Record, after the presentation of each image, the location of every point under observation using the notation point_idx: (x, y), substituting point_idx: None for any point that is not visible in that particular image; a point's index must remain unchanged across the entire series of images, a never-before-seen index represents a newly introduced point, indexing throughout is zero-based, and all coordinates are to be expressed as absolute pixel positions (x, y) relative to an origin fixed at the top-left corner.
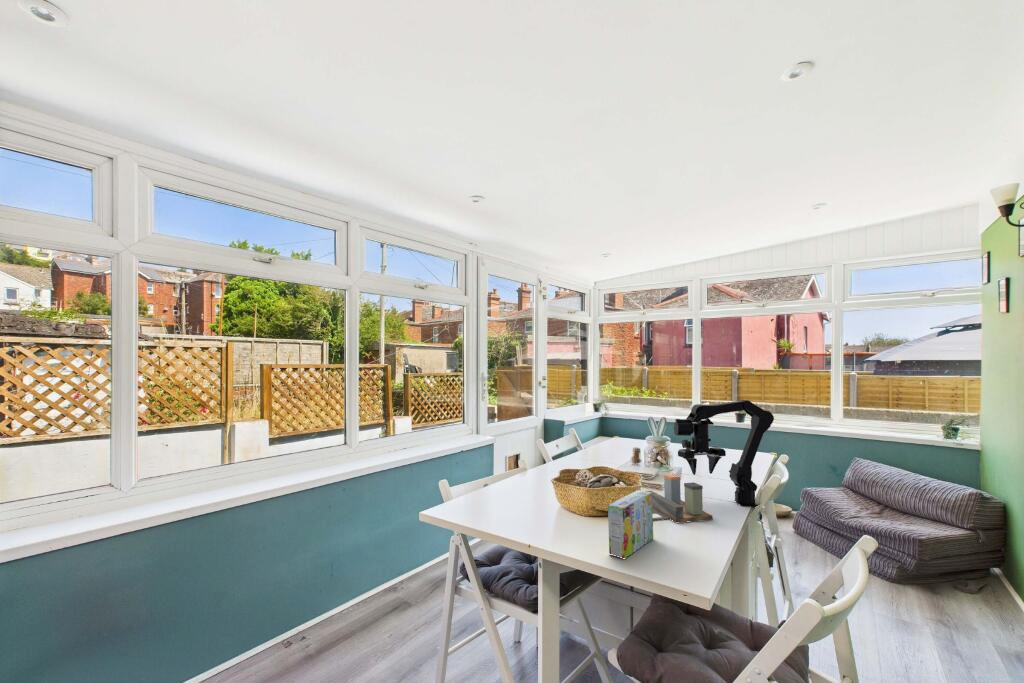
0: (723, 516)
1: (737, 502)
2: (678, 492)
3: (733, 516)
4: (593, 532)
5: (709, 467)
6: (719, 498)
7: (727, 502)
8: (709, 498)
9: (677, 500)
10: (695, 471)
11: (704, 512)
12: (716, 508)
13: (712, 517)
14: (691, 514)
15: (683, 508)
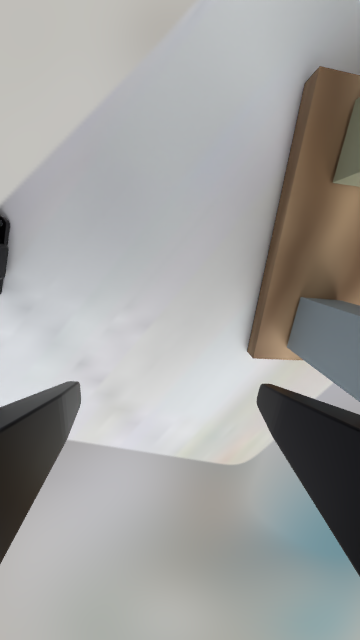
0: (215, 109)
1: (7, 250)
2: (349, 309)
3: (167, 85)
4: None
5: (50, 458)
6: (45, 352)
7: (44, 294)
8: (89, 362)
9: (323, 300)
10: (291, 395)
11: (311, 138)
12: (157, 234)
13: (313, 74)
14: None
15: (342, 233)
